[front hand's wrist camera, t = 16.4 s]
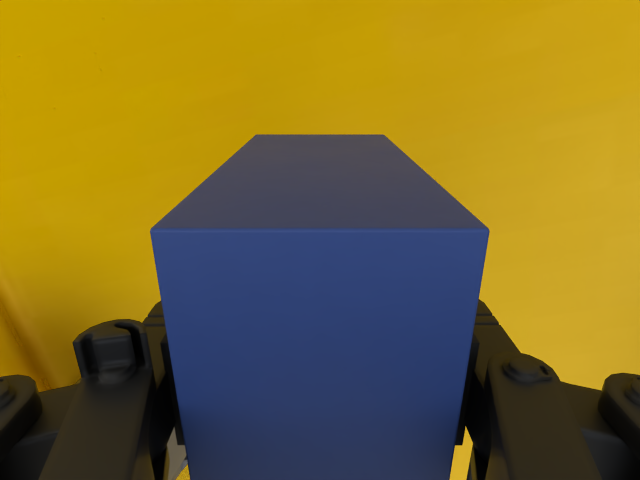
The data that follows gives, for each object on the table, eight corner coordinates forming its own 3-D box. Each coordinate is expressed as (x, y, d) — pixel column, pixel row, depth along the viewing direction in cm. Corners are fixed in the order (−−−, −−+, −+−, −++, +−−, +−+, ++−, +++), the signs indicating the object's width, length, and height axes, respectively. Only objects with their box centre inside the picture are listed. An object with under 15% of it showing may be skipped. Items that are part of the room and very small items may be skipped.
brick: (384, 134, 15) (491, 229, 6) (374, 320, 18) (432, 587, 9) (255, 134, 15) (147, 228, 6) (265, 320, 18) (206, 587, 9)
